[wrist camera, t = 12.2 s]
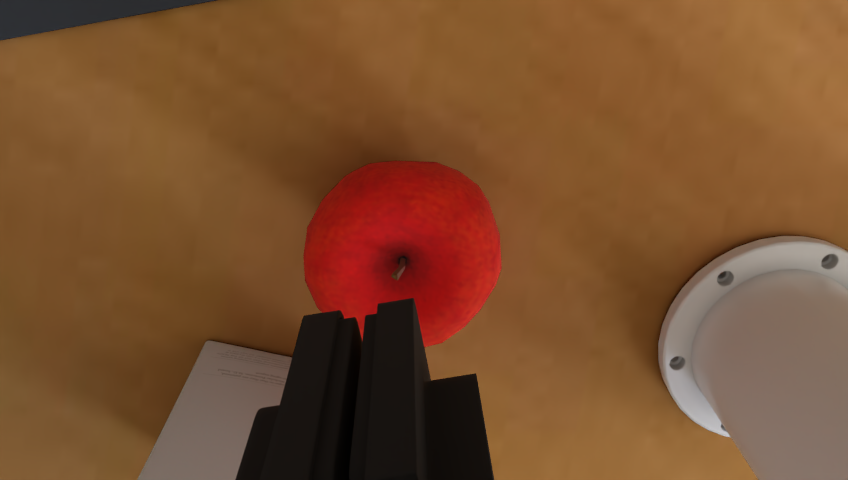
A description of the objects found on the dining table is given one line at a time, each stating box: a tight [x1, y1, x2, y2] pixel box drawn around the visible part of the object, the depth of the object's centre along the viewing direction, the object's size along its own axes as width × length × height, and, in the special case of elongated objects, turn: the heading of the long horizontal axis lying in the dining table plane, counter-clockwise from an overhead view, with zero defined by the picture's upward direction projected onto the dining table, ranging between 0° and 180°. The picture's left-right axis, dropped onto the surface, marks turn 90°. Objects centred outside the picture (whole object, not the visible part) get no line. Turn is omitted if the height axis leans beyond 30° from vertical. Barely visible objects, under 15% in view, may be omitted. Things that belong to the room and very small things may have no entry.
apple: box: [304, 161, 501, 347], centre depth 35 cm, size 9×9×8 cm
